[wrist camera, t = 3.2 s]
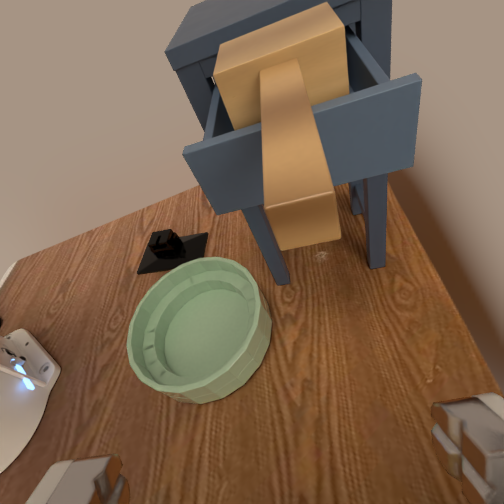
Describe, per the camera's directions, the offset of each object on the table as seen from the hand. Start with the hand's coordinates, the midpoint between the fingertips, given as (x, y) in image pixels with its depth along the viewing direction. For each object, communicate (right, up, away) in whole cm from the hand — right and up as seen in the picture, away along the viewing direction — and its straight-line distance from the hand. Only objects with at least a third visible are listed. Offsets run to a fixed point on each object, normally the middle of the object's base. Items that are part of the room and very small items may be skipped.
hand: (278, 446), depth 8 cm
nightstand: (+9, +3, +32) cm, 33 cm away
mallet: (+2, +8, +8) cm, 12 cm away
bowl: (-6, -6, +32) cm, 33 cm away
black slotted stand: (-14, +5, +44) cm, 47 cm away
